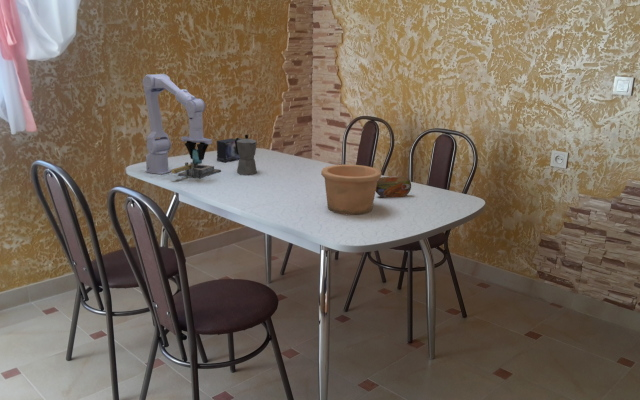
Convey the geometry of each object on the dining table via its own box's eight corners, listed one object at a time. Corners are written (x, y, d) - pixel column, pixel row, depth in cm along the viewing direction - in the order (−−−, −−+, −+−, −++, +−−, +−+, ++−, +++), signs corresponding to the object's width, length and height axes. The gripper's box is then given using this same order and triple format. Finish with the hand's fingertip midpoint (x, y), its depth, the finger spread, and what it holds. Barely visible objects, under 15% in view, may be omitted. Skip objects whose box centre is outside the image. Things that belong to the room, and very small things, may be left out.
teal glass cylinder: (190, 163, 235) (190, 149, 233) (196, 161, 238) (195, 148, 237) (198, 164, 233) (197, 150, 232) (203, 162, 237) (203, 149, 235)
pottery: (343, 197, 218) (345, 161, 214) (390, 208, 204) (392, 170, 200) (308, 208, 202) (309, 170, 198) (356, 221, 188) (358, 181, 184)
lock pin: (170, 173, 233) (170, 168, 233) (192, 167, 247) (192, 161, 246) (175, 174, 232) (175, 169, 232) (197, 167, 246) (197, 162, 245)
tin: (376, 198, 217) (377, 177, 215) (373, 196, 220) (374, 176, 218) (410, 196, 221) (412, 176, 219) (407, 194, 224) (409, 174, 222)
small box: (225, 162, 274) (224, 142, 271) (216, 161, 277) (215, 140, 275) (240, 159, 282) (240, 139, 279) (231, 158, 286) (231, 138, 283)
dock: (178, 175, 246) (177, 161, 244) (199, 168, 260) (199, 155, 258) (200, 178, 241) (199, 164, 239) (220, 171, 255) (220, 158, 253)
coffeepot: (263, 174, 252) (263, 135, 247) (247, 177, 246) (246, 137, 241) (244, 168, 263) (243, 131, 258) (227, 170, 256) (226, 132, 252)
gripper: (176, 127, 231) (177, 158, 235) (204, 130, 225) (205, 162, 229) (186, 125, 237) (187, 156, 241) (214, 128, 232) (215, 159, 235)
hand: (197, 159), depth 235 cm, fingers closed on teal glass cylinder, 4 cm apart
